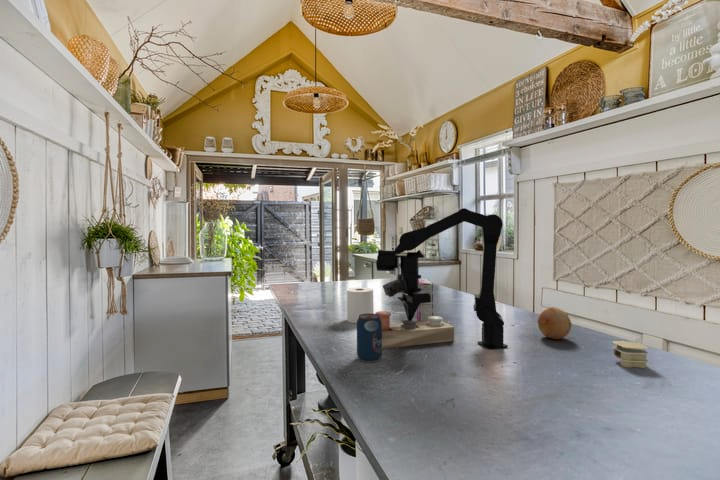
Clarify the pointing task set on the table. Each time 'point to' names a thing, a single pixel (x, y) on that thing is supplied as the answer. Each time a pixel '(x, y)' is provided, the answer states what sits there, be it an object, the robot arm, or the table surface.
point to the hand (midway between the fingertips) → (409, 320)
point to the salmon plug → (384, 319)
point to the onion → (554, 323)
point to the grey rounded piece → (409, 323)
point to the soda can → (369, 337)
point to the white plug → (435, 320)
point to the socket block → (416, 334)
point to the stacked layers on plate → (630, 354)
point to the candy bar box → (425, 308)
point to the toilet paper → (359, 303)
